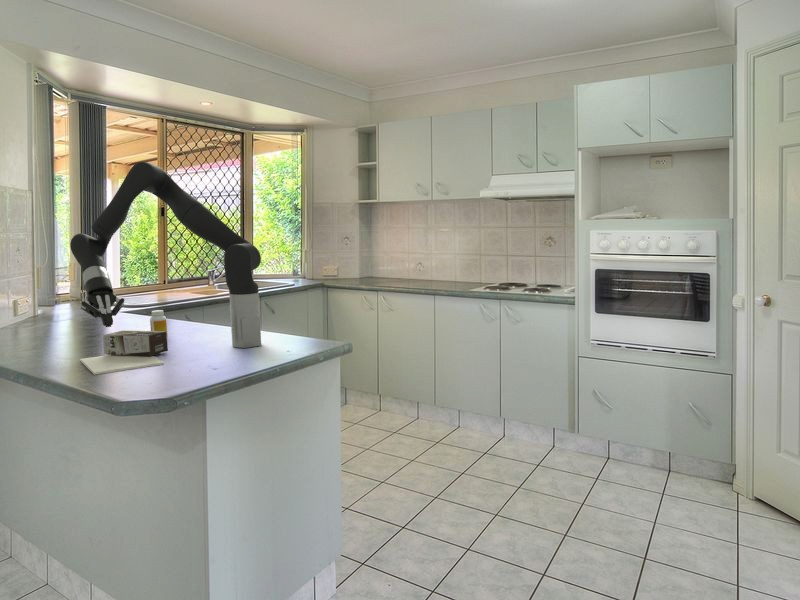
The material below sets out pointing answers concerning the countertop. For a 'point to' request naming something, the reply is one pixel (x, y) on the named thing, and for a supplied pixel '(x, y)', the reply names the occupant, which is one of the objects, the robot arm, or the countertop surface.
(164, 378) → the countertop surface
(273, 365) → the countertop surface
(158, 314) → the supplement bottle
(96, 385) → the countertop surface
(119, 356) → the cream board
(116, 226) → the robot arm
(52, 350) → the countertop surface
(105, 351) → the coffee box
